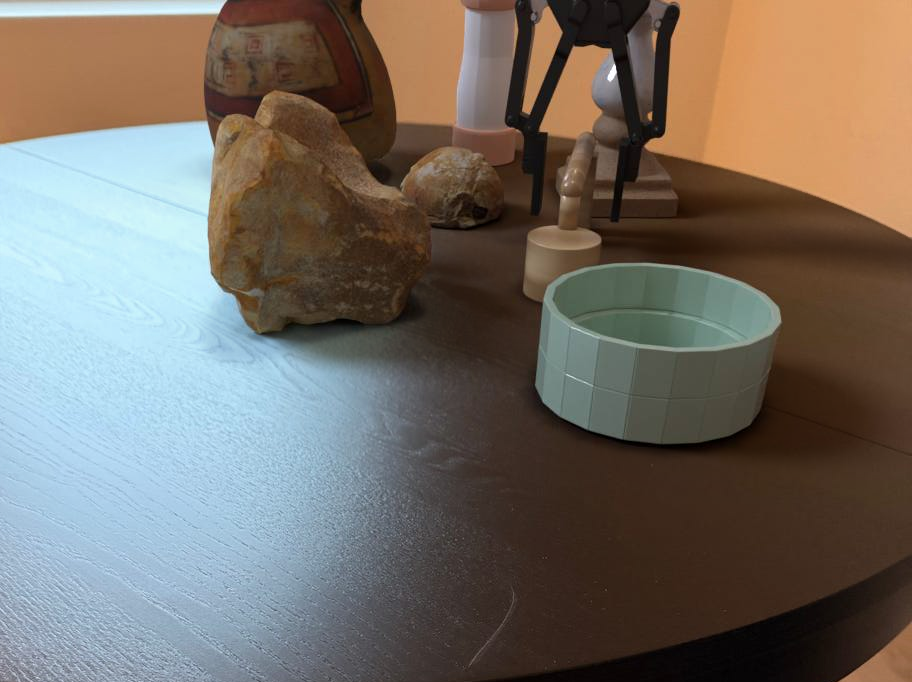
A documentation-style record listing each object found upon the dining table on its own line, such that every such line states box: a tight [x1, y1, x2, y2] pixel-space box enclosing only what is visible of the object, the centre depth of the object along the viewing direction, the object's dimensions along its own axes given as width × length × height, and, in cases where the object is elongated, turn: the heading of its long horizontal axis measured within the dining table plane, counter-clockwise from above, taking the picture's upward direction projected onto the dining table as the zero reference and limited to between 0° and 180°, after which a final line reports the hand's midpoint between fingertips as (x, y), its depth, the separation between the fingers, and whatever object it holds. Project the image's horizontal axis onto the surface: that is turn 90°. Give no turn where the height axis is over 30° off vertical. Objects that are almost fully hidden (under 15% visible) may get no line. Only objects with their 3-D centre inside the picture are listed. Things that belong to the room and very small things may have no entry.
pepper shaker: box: [451, 0, 517, 167], centre depth 114 cm, size 7×7×19 cm
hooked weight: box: [522, 131, 603, 304], centre depth 90 cm, size 22×6×9 cm, turn 169°
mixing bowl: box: [534, 262, 783, 445], centre depth 69 cm, size 15×15×7 cm
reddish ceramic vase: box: [203, 0, 398, 165], centre depth 104 cm, size 20×20×30 cm
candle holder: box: [555, 0, 679, 218], centre depth 101 cm, size 11×11×24 cm
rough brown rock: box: [207, 90, 433, 335], centre depth 79 cm, size 23×17×15 cm
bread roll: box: [400, 145, 505, 230], centre depth 102 cm, size 10×10×8 cm
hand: (575, 214), depth 96 cm, fingers open, 7 cm apart
